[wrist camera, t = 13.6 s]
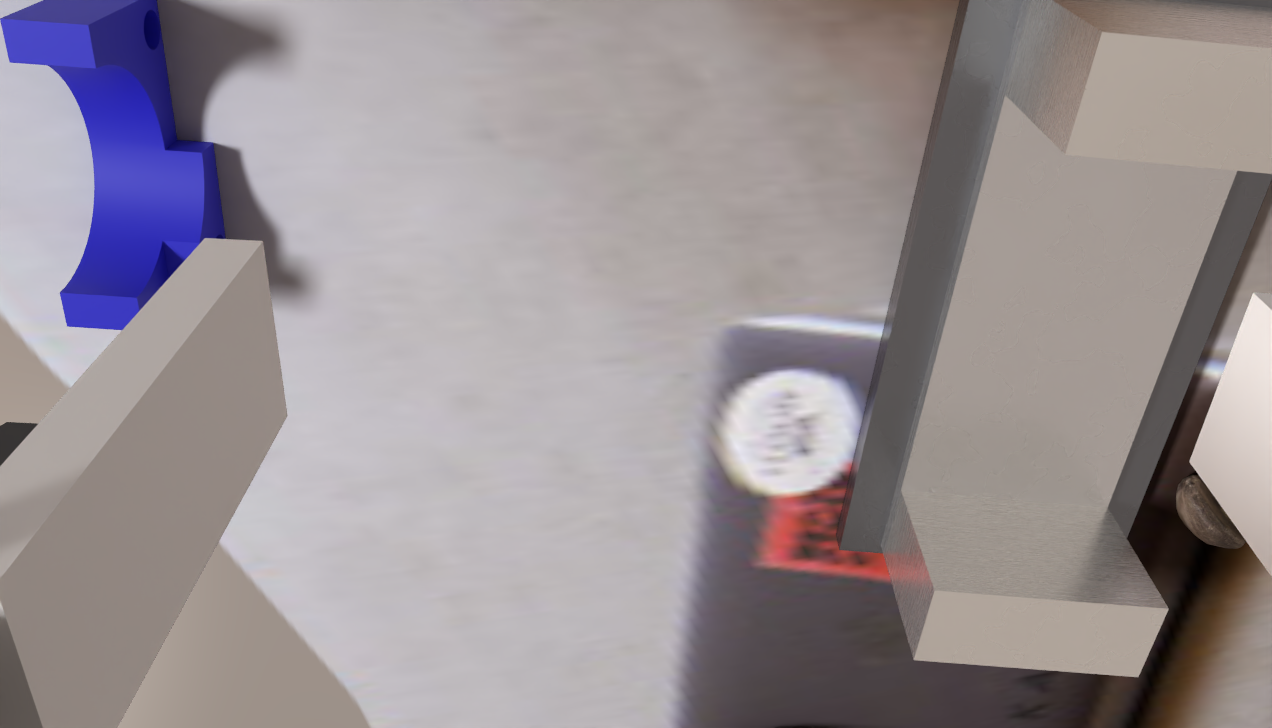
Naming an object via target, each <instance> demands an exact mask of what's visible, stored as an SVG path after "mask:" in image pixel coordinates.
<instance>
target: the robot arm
mask: <svg viewBox="0 0 1272 728" xmlns="http://www.w3.org/2000/svg"><path fill="white" fill-rule="evenodd" d="M286 417H287V409H286V402H285V394H284V387H283V380H282V373H281V366H280V359H279V352H278V344H277V337H276V330H275V323H274V316H273V309H272V302H271V294H270V287H269V280H268V273H267V266H266V259H265V251H264V244H263V241H253V240H234V239H214V238H204V240H203V241H202V242H201V243H200V244H199V245H198V246H197V247H196V249H195V250H194V251H193V252H192V253H191V254H190V255H189V256H188V257H187V259H186V260H185V261H184V262H183V263H182V264H181V265H180V266H179V267H178V269H177V270H176V271H175V272H174V273H173V274H172V275H171V276H170V278H169V279H168V280H167V281H166V282H165V283H164V284H163V285H162V286H161V288H160V289H159V290H158V291H157V292H156V293H155V294H154V295H153V296H152V298H151V299H150V300H149V301H148V302H147V303H146V304H145V305H144V307H143V308H142V309H141V310H140V311H139V312H138V313H137V314H136V315H135V317H134V318H133V319H132V320H131V321H130V322H129V323H128V324H127V325H126V327H125V328H124V329H123V330H122V331H121V332H120V333H119V334H118V336H117V337H116V338H115V339H114V340H113V341H112V342H111V343H110V344H109V346H108V347H107V348H106V349H105V350H104V351H103V352H102V353H101V354H100V356H99V357H98V358H97V359H96V360H95V361H94V362H93V363H92V364H91V366H90V367H89V368H88V369H87V370H86V371H85V372H84V373H83V375H82V376H81V377H80V378H79V379H78V380H77V381H76V382H75V383H74V385H73V386H72V387H71V388H70V389H69V390H68V391H67V392H66V394H65V395H64V396H63V397H62V398H61V399H60V400H59V401H58V403H57V404H56V405H55V406H54V407H53V408H52V409H51V410H50V411H49V412H48V414H47V415H46V416H45V417H44V418H43V419H42V420H41V421H40V423H39V424H32V423H14V422H6V423H5V424H3V425H1V426H0V728H117V727H118V725H119V723H120V722H121V720H122V718H123V716H124V714H125V713H126V711H127V709H128V707H129V705H130V703H131V702H132V700H133V698H134V696H135V694H136V692H137V691H138V689H139V687H140V685H141V683H142V681H143V679H144V678H145V675H146V674H147V672H148V670H149V668H150V667H151V665H152V663H153V661H154V659H155V658H156V656H157V654H158V652H159V650H160V648H161V647H162V645H163V643H164V641H165V639H166V637H167V636H168V634H169V632H170V630H171V628H172V626H173V625H174V623H175V621H176V619H177V617H178V615H179V614H180V612H181V610H182V608H183V606H184V604H185V602H186V601H187V599H188V597H189V595H190V593H191V592H192V590H193V588H194V586H195V584H196V582H197V581H198V579H199V577H200V575H201V573H202V571H203V569H204V568H205V566H206V564H207V562H208V560H209V559H210V557H211V555H212V553H213V551H214V549H215V547H216V546H217V544H218V542H219V540H220V538H221V537H222V535H223V533H224V531H225V529H226V527H227V526H228V524H229V522H230V520H231V518H232V516H233V515H234V513H235V511H236V509H237V507H238V505H239V504H240V502H241V500H242V498H243V496H244V494H245V493H246V491H247V489H248V487H249V485H250V483H251V482H252V480H253V478H254V476H255V474H256V472H257V471H258V469H259V467H260V465H261V463H262V461H263V460H264V458H265V456H266V454H267V452H268V450H269V449H270V447H271V445H272V443H273V441H274V439H275V438H276V436H277V434H278V432H279V430H280V428H281V427H282V425H283V423H284V421H285V419H286ZM1189 462H1190V463H1191V465H1192V466H1193V468H1194V469H1195V470H1196V472H1197V473H1198V475H1199V476H1200V477H1201V479H1202V480H1203V482H1204V483H1205V484H1206V486H1207V487H1208V489H1209V490H1210V491H1211V493H1212V494H1213V496H1214V497H1215V498H1216V500H1217V501H1218V502H1219V504H1220V505H1221V507H1222V508H1223V509H1224V511H1225V512H1226V514H1227V515H1228V516H1229V518H1230V519H1231V521H1232V522H1233V523H1234V525H1235V526H1236V528H1237V529H1238V530H1239V532H1240V533H1241V535H1242V536H1243V537H1244V539H1245V540H1246V542H1247V543H1248V544H1249V546H1250V547H1251V549H1252V550H1253V551H1254V553H1255V554H1256V555H1257V557H1258V558H1259V560H1260V561H1261V562H1262V564H1263V565H1264V567H1265V568H1266V569H1267V571H1268V572H1269V574H1270V575H1271V576H1272V294H1270V293H1253V295H1252V297H1251V300H1250V303H1249V305H1248V308H1247V311H1246V313H1245V316H1244V319H1243V321H1242V324H1241V326H1240V329H1239V332H1238V334H1237V337H1236V340H1235V342H1234V345H1233V348H1232V350H1231V353H1230V356H1229V358H1228V361H1227V364H1226V366H1225V369H1224V371H1223V374H1222V377H1221V379H1220V382H1219V385H1218V387H1217V390H1216V393H1215V395H1214V398H1213V401H1212V403H1211V406H1210V408H1209V411H1208V414H1207V416H1206V419H1205V422H1204V424H1203V427H1202V430H1201V432H1200V435H1199V438H1198V440H1197V443H1196V446H1195V448H1194V451H1193V453H1192V456H1191V459H1190V461H1189Z"/></svg>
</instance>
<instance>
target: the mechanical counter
mask: <svg viewBox="0 0 1272 728" xmlns="http://www.w3.org/2000/svg"><path fill="white" fill-rule="evenodd" d="M1176 508H1177V511H1178V514H1179V517H1180V518H1181V520H1182V521H1183V523H1184V524H1185V526H1186V527H1187V528H1188V529H1189V530H1190V531H1191V532H1192V533H1193V534H1194V535H1195V536H1196V537H1198V538H1199V539H1201V540H1202V541H1204V542H1205V543H1207V544H1210V545H1214V546H1218V547H1223V548H1233V549H1237V548H1240V547H1242V546H1243V545H1244V543H1245V542H1246V540H1245V539H1244V537H1243V536H1242V535H1241V533H1240V532H1239V530H1238V529H1237V528H1236V526H1235V525H1234V523H1233V522H1232V521H1231V519H1230V518H1229V516H1228V515H1227V514H1226V512H1225V511H1224V509H1223V508H1222V507H1221V505H1220V504H1219V502H1218V501H1217V500H1216V498H1215V497H1214V496H1213V494H1212V493H1211V491H1210V490H1209V489H1208V487H1207V486H1206V484H1205V483H1204V482H1203V480H1202V479H1201V477H1200V476H1198V475H1192V474H1191V475H1189V476H1188V477H1186V478H1184V479H1183V480H1182V481H1181V482H1180V484H1179V485H1178V488H1177V492H1176Z"/></svg>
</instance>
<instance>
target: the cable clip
mask: <svg viewBox="0 0 1272 728" xmlns="http://www.w3.org/2000/svg"><path fill="white" fill-rule="evenodd" d="M0 20H1V25H2V29H3V34H4V38H5V43H6V48H7V52H8V57H9V61H10V62H11V63H25V64H39V65H48V66H50V67H51V68H52V69H54V70H55V71H56V72H57V73H58V74H59V75H60V76H61V77H62V79H63V80H64V81H65V82H66V84H67V85H68V87H69V88H70V90H71V91H72V93H73V95H74V97H75V99H76V101H77V103H78V105H79V107H80V110H81V112H82V115H83V117H84V121H85V124H86V127H87V131H88V135H89V139H90V144H91V149H92V156H93V165H94V183H95V190H94V209H93V217H92V224H91V229H90V234H89V238H88V242H87V245H86V248H85V251H84V254H83V257H82V259H81V262H80V264H79V266H78V268H77V270H76V272H75V274H74V275H73V277H72V279H71V280H70V281H69V283H68V284H67V285H66V287H65V288H64V289H63V290H62V291H61V292H60V295H61V300H62V305H63V309H64V314H65V318H66V323H67V326H69V327H84V328H99V329H114V330H123V329H124V328H125V327H126V325H127V324H128V323H129V322H130V321H131V320H132V319H133V318H134V317H135V315H136V314H137V313H138V312H139V311H140V310H141V309H142V308H143V307H144V305H145V304H146V303H147V302H148V301H149V300H150V299H151V298H152V296H153V295H154V294H155V293H156V292H157V291H158V290H159V289H160V288H161V286H162V285H163V284H164V283H165V282H166V281H167V280H168V279H169V278H170V276H171V275H172V274H173V273H174V272H175V271H176V270H177V269H178V267H179V266H180V265H181V264H182V263H183V262H184V261H185V260H186V259H187V257H188V256H189V255H190V254H191V253H192V252H193V251H194V250H195V249H196V247H197V246H198V245H199V244H200V243H201V242H202V241H203V240H204V238H214V239H226V237H225V230H224V222H223V214H222V207H221V199H220V191H219V183H218V176H217V168H216V160H215V152H214V145H213V143H212V142H198V141H184V140H177V135H176V129H175V122H174V115H173V108H172V101H171V94H170V88H169V81H168V74H167V67H166V60H165V53H164V47H163V40H162V33H161V26H160V19H159V12H158V6H157V0H43V1H41V2H39V3H36V4H34V5H31V6H29V7H27V8H24V9H22V10H19V11H17V12H15V13H12V14H10V15H8V16H5V17H3V18H0Z"/></svg>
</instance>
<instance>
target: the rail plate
mask: <svg viewBox="0 0 1272 728" xmlns="http://www.w3.org/2000/svg"><path fill="white" fill-rule="evenodd" d="M1271 180H1272V0H960V2H959V6H958V10H957V15H956V19H955V23H954V28H953V32H952V36H951V41H950V45H949V49H948V54H947V58H946V62H945V67H944V71H943V75H942V79H941V84H940V88H939V92H938V97H937V101H936V105H935V110H934V114H933V118H932V123H931V127H930V131H929V135H928V140H927V144H926V148H925V153H924V157H923V161H922V166H921V170H920V174H919V179H918V183H917V187H916V192H915V196H914V200H913V204H912V209H911V213H910V217H909V222H908V226H907V230H906V235H905V239H904V243H903V248H902V252H901V256H900V260H899V265H898V269H897V273H896V278H895V282H894V286H893V291H892V295H891V299H890V304H889V308H888V312H887V317H886V321H885V325H884V329H883V334H882V338H881V342H880V347H879V351H878V355H877V360H876V364H875V368H874V373H873V377H872V381H871V385H870V390H869V394H868V398H867V403H866V407H865V411H864V416H863V420H862V424H861V429H860V433H859V437H858V442H857V446H856V450H855V454H854V459H853V463H852V467H851V472H850V476H849V480H848V485H847V489H846V493H845V498H844V502H843V506H842V510H841V515H840V519H839V523H838V528H837V532H836V537H837V541H838V546H839V550H848V551H861V552H873V553H883V554H884V558H885V561H886V565H887V568H888V572H889V575H890V579H891V582H892V586H893V589H894V593H895V596H896V600H897V603H898V607H899V610H900V614H901V617H902V621H903V624H904V628H905V631H906V635H907V638H908V642H909V645H910V649H911V652H912V656H913V659H914V660H920V661H933V662H946V663H959V664H972V665H985V666H999V667H1012V668H1025V669H1038V670H1051V671H1064V672H1077V673H1091V674H1104V675H1117V676H1130V677H1138V676H1139V674H1140V672H1141V670H1142V667H1143V665H1144V663H1145V661H1146V658H1147V656H1148V654H1149V652H1150V650H1151V647H1152V645H1153V643H1154V641H1155V638H1156V636H1157V634H1158V632H1159V629H1160V627H1161V625H1162V623H1163V620H1164V618H1165V616H1166V614H1167V611H1168V607H1167V605H1166V604H1165V602H1164V600H1163V599H1162V597H1161V595H1160V594H1159V592H1158V590H1157V589H1156V587H1155V585H1154V584H1153V582H1152V580H1151V579H1150V577H1149V575H1148V574H1147V572H1146V570H1145V568H1144V567H1143V565H1142V563H1141V562H1140V560H1139V558H1138V557H1137V555H1136V553H1135V552H1134V550H1133V548H1132V547H1131V545H1130V543H1129V542H1128V540H1127V537H1128V534H1129V532H1130V529H1131V527H1132V524H1133V522H1134V519H1135V517H1136V515H1137V512H1138V510H1139V507H1140V505H1141V502H1142V500H1143V497H1144V495H1145V492H1146V490H1147V487H1148V485H1149V482H1150V480H1151V477H1152V475H1153V472H1154V470H1155V467H1156V465H1157V462H1158V460H1159V458H1160V455H1161V453H1162V450H1163V448H1164V445H1165V443H1166V440H1167V438H1168V435H1169V433H1170V430H1171V428H1172V425H1173V423H1174V420H1175V418H1176V415H1177V413H1178V410H1179V408H1180V405H1181V403H1182V401H1183V398H1184V396H1185V393H1186V391H1187V388H1188V386H1189V383H1190V381H1191V378H1192V376H1193V373H1194V371H1195V368H1196V366H1197V363H1198V361H1199V358H1200V356H1201V353H1202V351H1203V348H1204V346H1205V344H1206V341H1207V339H1208V336H1209V334H1210V331H1211V329H1212V326H1213V324H1214V321H1215V319H1216V316H1217V314H1218V311H1219V309H1220V306H1221V304H1222V301H1223V299H1224V296H1225V294H1226V291H1227V289H1228V287H1229V284H1230V282H1231V279H1232V277H1233V274H1234V272H1235V269H1236V267H1237V264H1238V262H1239V259H1240V257H1241V254H1242V252H1243V249H1244V247H1245V244H1246V242H1247V239H1248V237H1249V234H1250V232H1251V230H1252V227H1253V225H1254V222H1255V220H1256V217H1257V215H1258V212H1259V210H1260V207H1261V205H1262V202H1263V200H1264V197H1265V195H1266V192H1267V190H1268V187H1269V185H1270V182H1271Z"/></svg>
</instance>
